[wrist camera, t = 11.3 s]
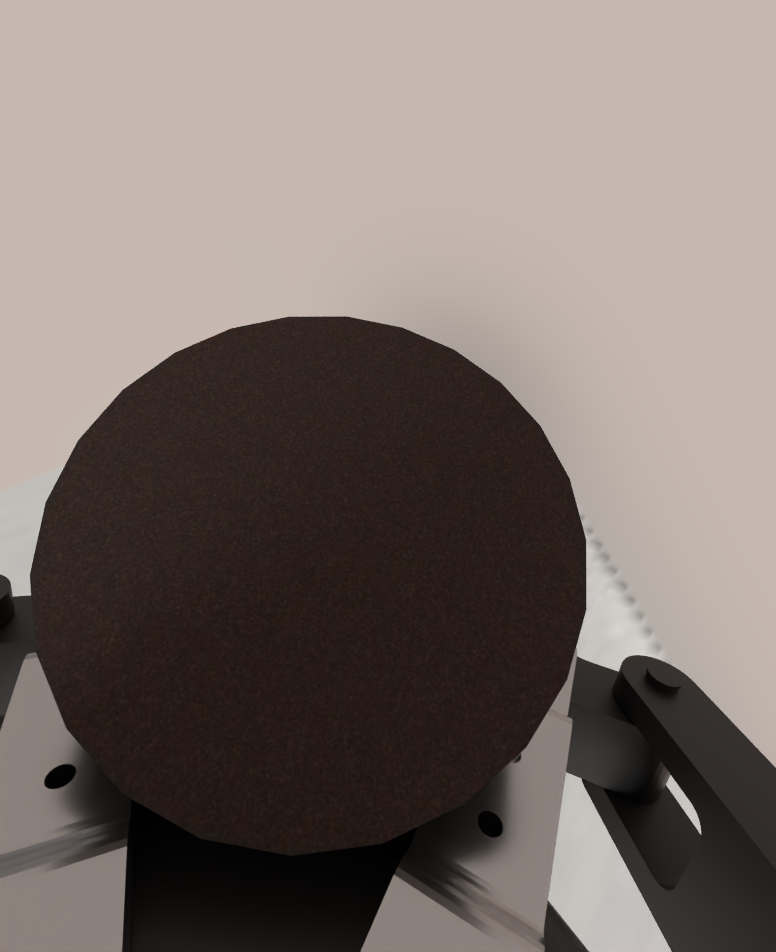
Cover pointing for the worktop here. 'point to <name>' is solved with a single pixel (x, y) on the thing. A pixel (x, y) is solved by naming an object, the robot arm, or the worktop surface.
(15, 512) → the worktop surface
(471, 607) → the deodorant
